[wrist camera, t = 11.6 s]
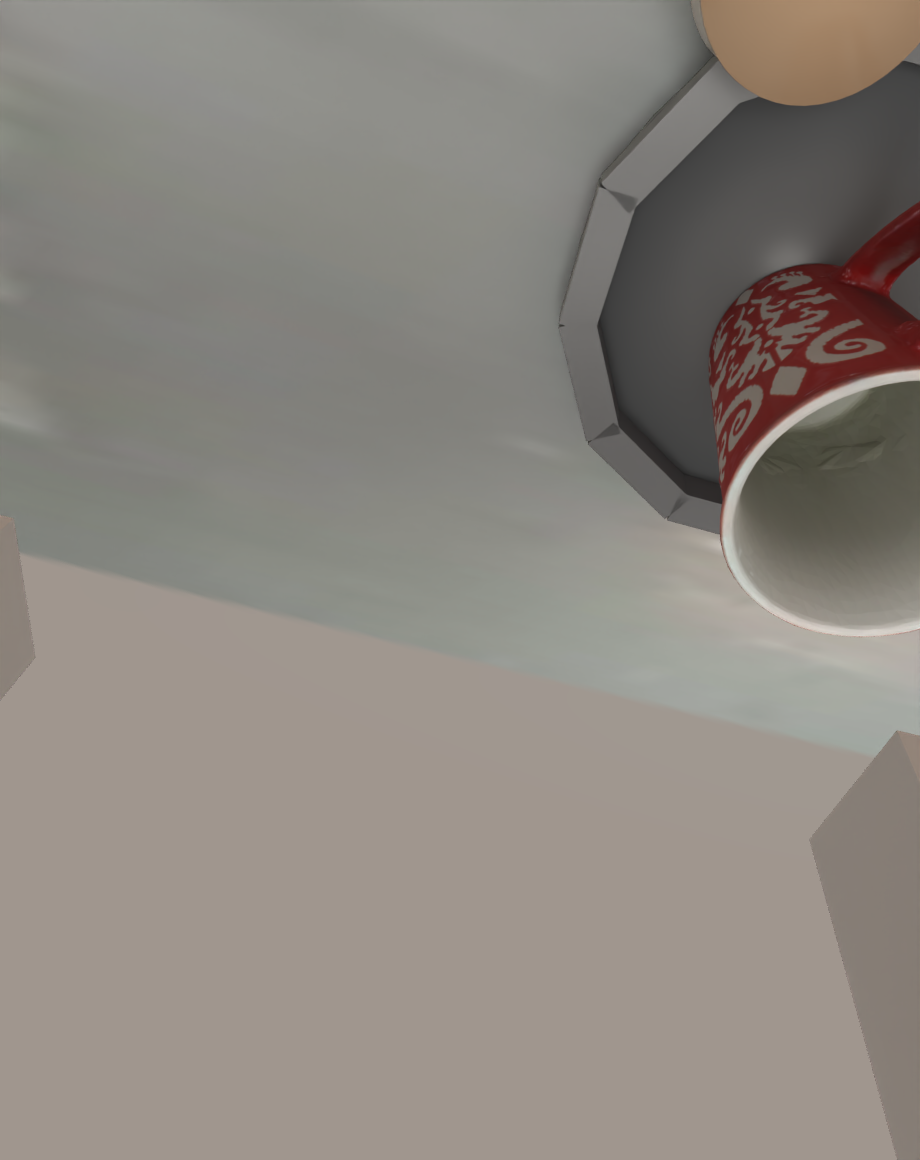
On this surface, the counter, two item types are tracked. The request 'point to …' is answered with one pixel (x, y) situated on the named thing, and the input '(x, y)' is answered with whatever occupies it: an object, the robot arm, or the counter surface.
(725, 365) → the mug
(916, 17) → the pot
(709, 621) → the counter surface
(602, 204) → the tray
